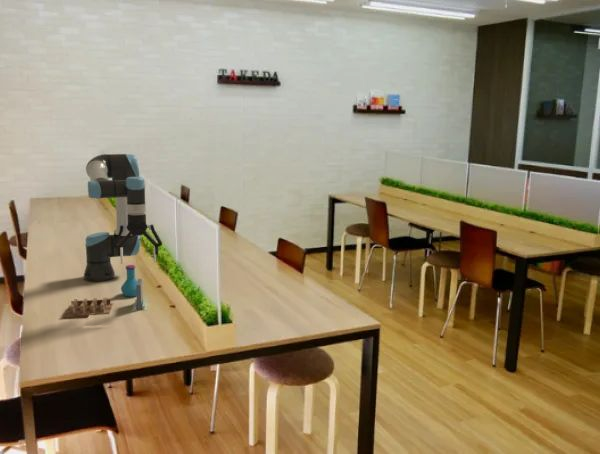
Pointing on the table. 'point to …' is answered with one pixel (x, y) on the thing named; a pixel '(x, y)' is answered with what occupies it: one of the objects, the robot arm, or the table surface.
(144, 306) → the stand
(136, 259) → the table surface
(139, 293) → the thick grey slab
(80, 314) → the rack
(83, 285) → the table surface
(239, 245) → the table surface
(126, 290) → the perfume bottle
